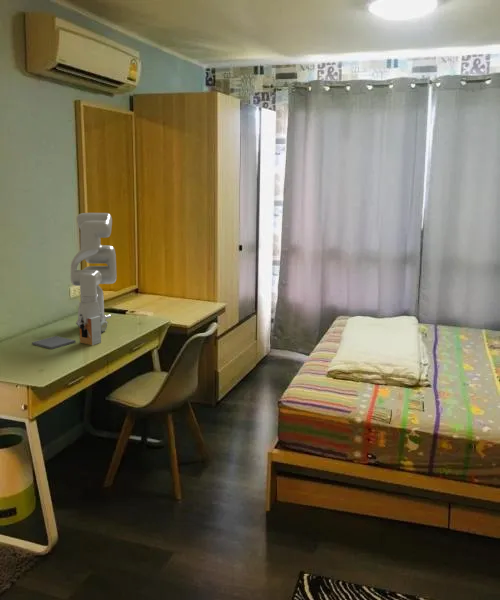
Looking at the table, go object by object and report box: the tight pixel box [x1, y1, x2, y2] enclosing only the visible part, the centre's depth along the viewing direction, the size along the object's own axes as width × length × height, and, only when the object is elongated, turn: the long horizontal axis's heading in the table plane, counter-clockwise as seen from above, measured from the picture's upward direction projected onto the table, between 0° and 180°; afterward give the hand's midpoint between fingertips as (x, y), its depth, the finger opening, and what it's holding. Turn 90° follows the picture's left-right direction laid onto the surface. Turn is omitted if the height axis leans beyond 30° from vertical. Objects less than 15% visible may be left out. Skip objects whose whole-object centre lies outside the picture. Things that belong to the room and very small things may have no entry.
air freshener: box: [100, 312, 108, 334], centre depth 304 cm, size 11×8×10 cm
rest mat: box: [31, 335, 77, 350], centre depth 283 cm, size 14×14×1 cm
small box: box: [78, 316, 102, 346], centre depth 284 cm, size 8×6×13 cm
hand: (90, 335), depth 284 cm, fingers closed on small box, 6 cm apart
